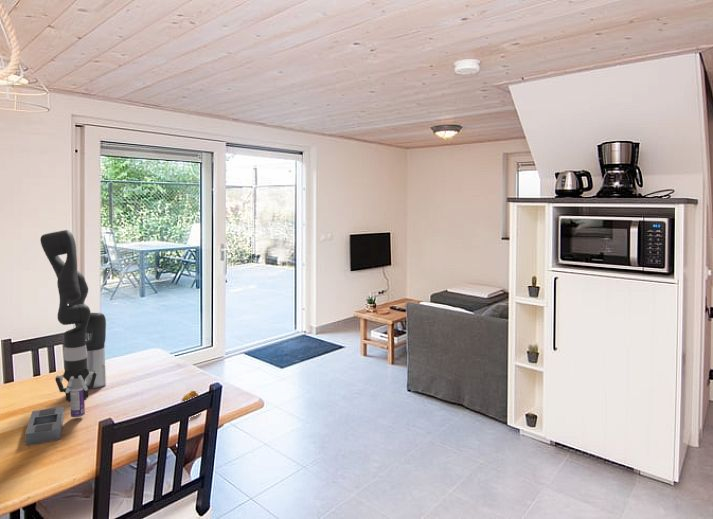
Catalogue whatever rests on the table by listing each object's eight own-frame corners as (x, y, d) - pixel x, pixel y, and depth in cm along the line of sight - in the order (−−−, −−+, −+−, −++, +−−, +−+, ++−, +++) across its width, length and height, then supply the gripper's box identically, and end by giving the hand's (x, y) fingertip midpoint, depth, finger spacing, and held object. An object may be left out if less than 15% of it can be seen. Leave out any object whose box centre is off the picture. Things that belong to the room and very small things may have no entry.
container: (81, 411, 187) (79, 373, 185) (87, 414, 184) (86, 376, 183) (68, 415, 183) (67, 377, 181) (74, 418, 181) (73, 380, 179)
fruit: (209, 404, 194) (201, 386, 195) (192, 413, 188) (184, 394, 188) (198, 409, 199) (190, 392, 200) (181, 418, 192) (173, 400, 193)
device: (63, 416, 185) (63, 406, 185) (60, 439, 168) (59, 428, 167) (32, 421, 180) (32, 410, 180) (25, 445, 163) (25, 434, 162)
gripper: (97, 352, 188) (98, 393, 190) (54, 356, 181) (56, 399, 183) (97, 357, 181) (98, 400, 183) (52, 362, 175) (54, 407, 177)
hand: (77, 400), depth 183 cm, fingers closed on container, 4 cm apart
